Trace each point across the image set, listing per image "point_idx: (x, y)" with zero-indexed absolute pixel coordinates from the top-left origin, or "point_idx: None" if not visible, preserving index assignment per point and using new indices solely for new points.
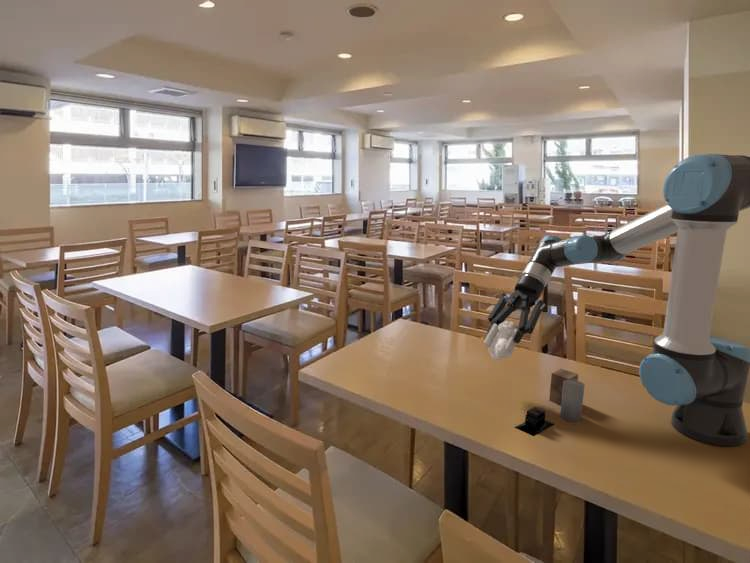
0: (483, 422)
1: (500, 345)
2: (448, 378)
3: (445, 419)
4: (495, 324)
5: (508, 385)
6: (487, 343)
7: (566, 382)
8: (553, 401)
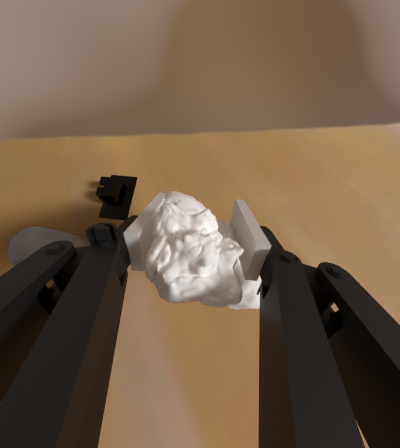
0: (170, 164)
1: (182, 194)
2: (284, 239)
3: (205, 143)
4: (256, 241)
5: None
6: (234, 210)
7: (44, 242)
8: None
